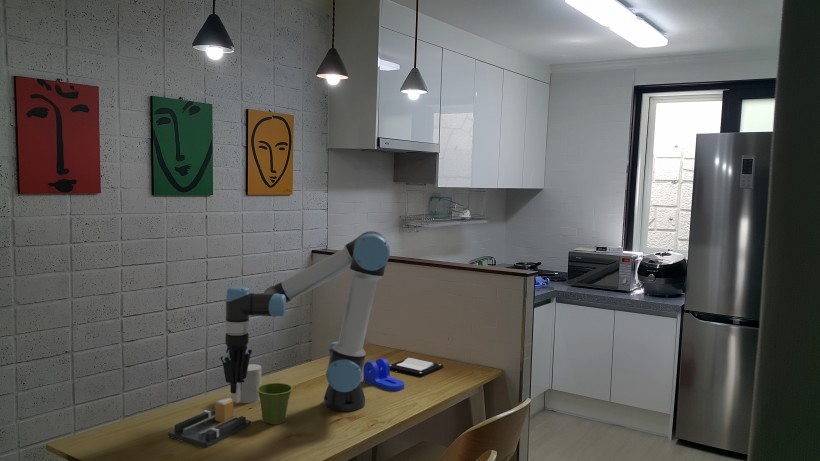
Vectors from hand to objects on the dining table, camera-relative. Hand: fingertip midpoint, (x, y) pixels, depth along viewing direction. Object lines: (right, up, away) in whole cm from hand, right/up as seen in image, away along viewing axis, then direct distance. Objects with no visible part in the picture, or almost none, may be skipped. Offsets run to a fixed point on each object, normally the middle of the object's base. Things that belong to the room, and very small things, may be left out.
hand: (235, 401), depth 208 cm
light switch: (+61, -4, +63) cm, 88 cm away
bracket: (+49, -5, +40) cm, 64 cm away
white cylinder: (0, -5, +20) cm, 20 cm away
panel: (-5, -7, -10) cm, 13 cm away
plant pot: (+13, -7, 0) cm, 15 cm away
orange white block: (-2, -5, -5) cm, 7 cm away
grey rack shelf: (-5, -5, -10) cm, 13 cm away
